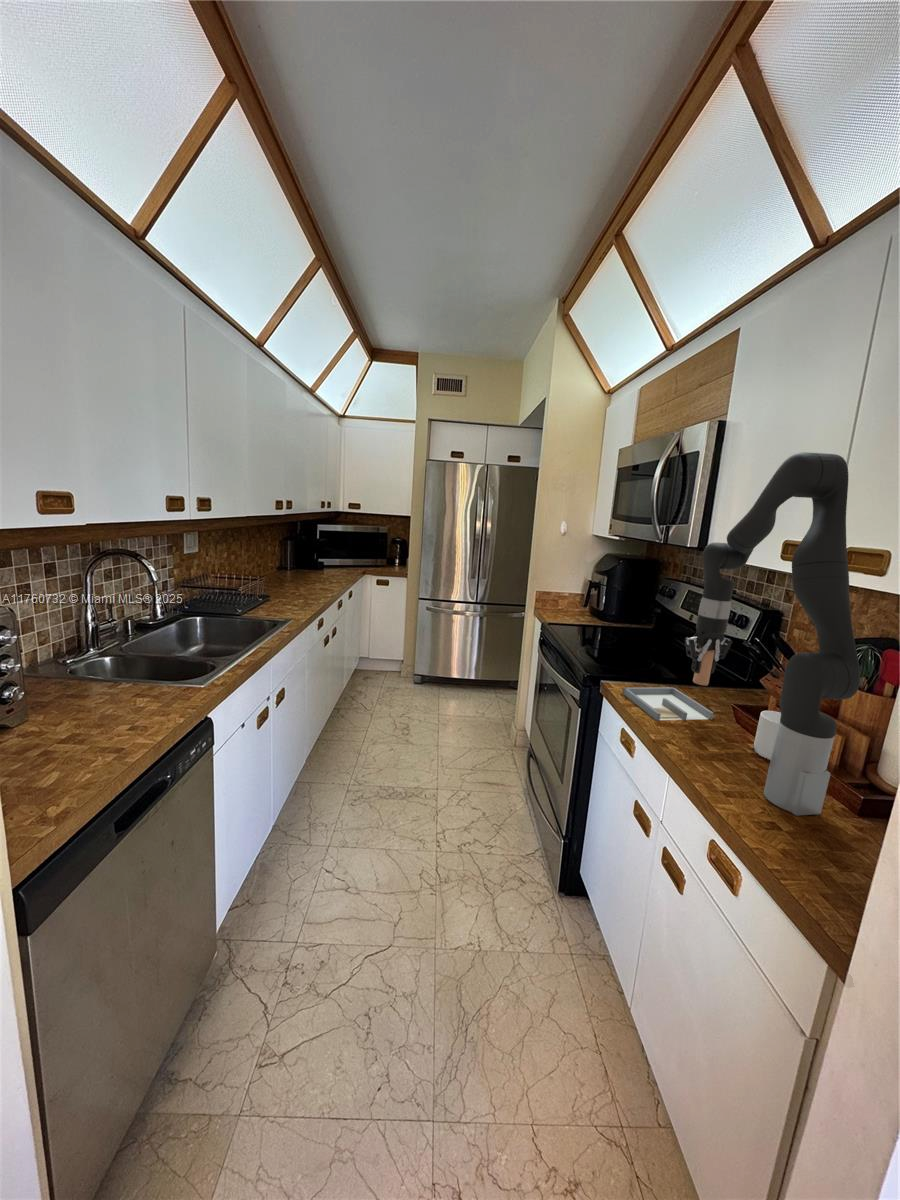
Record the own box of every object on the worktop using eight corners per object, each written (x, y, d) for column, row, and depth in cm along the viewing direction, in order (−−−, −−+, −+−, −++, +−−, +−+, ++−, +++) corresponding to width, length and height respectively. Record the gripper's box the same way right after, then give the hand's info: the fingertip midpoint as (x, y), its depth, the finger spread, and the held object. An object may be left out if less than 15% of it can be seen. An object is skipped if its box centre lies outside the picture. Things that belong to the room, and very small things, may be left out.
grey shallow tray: (711, 722, 137) (713, 712, 136) (655, 723, 134) (657, 713, 133) (671, 695, 155) (673, 686, 154) (621, 695, 152) (622, 687, 151)
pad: (678, 718, 136) (678, 716, 136) (659, 718, 135) (660, 717, 134) (666, 709, 141) (666, 707, 141) (648, 709, 140) (648, 708, 140)
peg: (711, 685, 133) (717, 652, 131) (699, 685, 133) (705, 651, 130) (702, 680, 137) (708, 647, 135) (689, 680, 136) (695, 647, 134)
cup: (759, 759, 117) (767, 721, 115) (744, 737, 129) (751, 702, 127) (797, 765, 115) (806, 728, 113) (778, 742, 127) (786, 708, 124)
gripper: (699, 617, 126) (688, 677, 129) (746, 618, 128) (734, 677, 132) (681, 610, 133) (672, 667, 137) (726, 611, 135) (715, 667, 139)
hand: (702, 672), depth 134 cm, fingers closed on peg, 4 cm apart
